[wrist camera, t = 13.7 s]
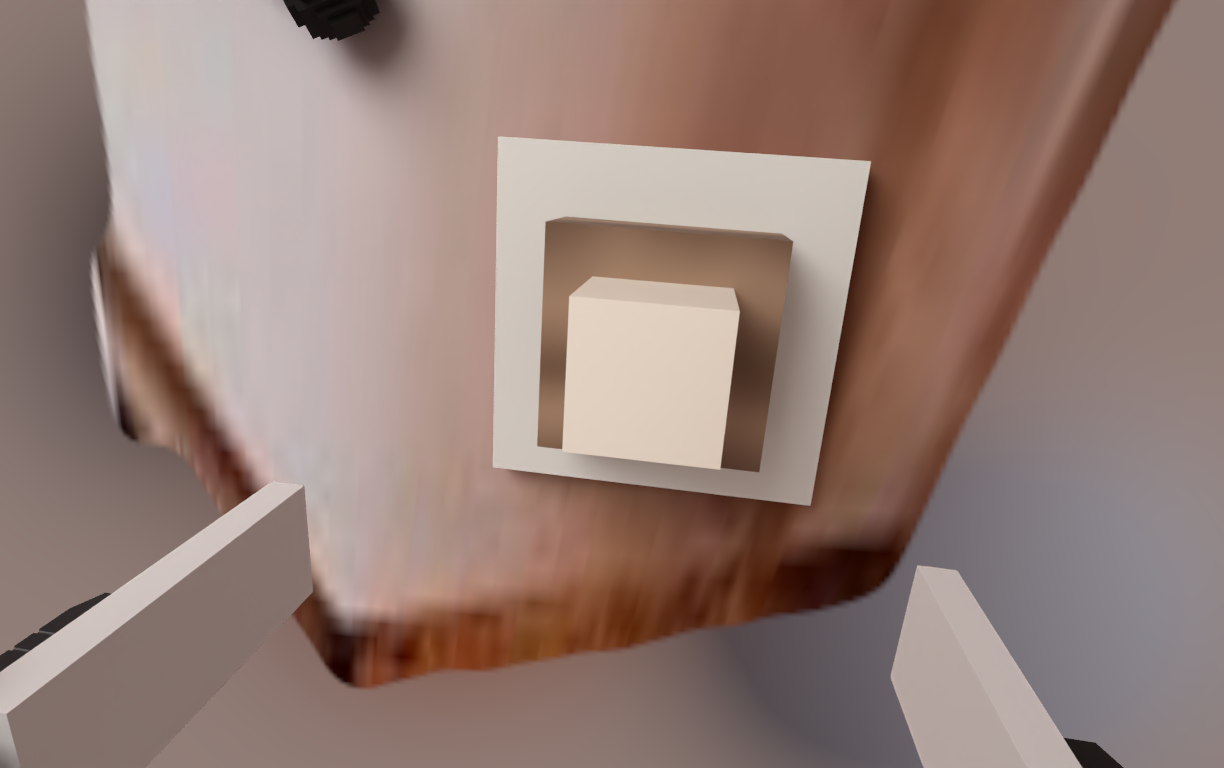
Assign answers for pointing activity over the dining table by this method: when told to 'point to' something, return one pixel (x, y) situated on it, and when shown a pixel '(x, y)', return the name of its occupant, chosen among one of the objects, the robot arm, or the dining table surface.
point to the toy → (332, 16)
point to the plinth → (687, 196)
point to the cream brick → (649, 371)
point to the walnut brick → (682, 259)
